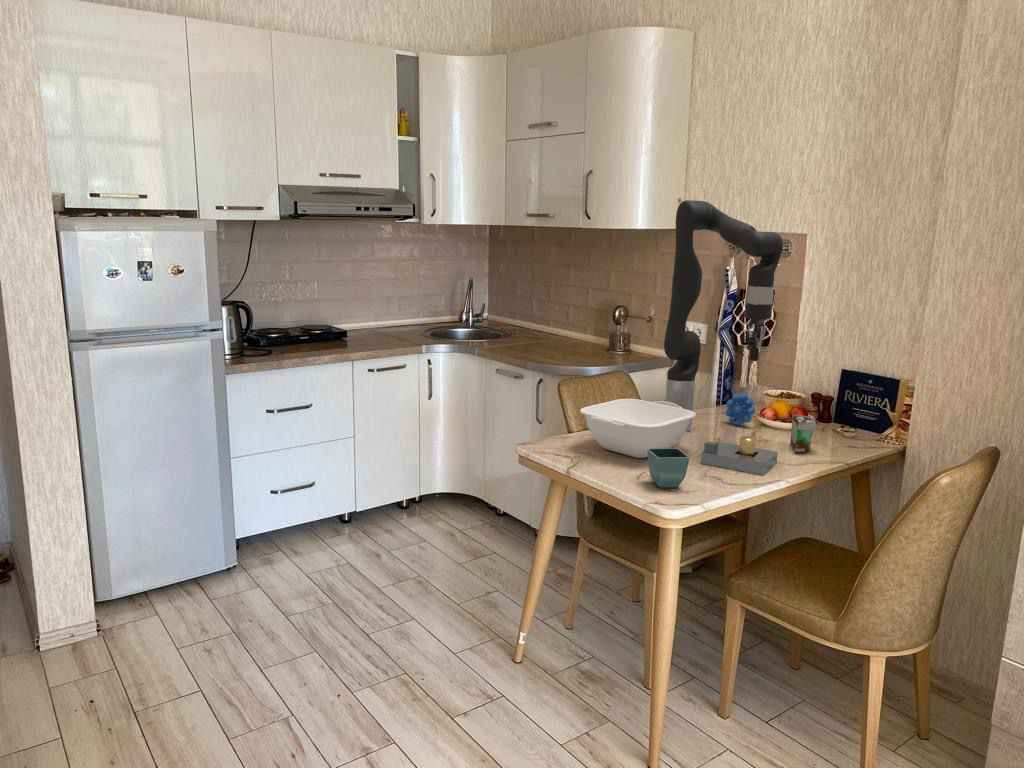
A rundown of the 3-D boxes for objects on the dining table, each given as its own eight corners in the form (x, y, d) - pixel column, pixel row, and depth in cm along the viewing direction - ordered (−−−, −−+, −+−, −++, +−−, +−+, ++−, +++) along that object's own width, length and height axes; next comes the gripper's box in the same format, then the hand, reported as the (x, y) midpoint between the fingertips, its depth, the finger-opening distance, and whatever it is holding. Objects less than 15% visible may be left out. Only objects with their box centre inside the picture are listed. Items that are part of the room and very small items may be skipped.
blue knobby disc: (760, 427, 268) (763, 393, 265) (749, 430, 264) (752, 396, 261) (732, 420, 277) (734, 387, 274) (720, 423, 272) (723, 389, 270)
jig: (700, 463, 226) (702, 443, 225) (716, 452, 238) (718, 433, 236) (763, 475, 216) (765, 454, 215) (776, 463, 228) (778, 443, 227)
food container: (816, 456, 236) (820, 424, 234) (795, 455, 237) (798, 423, 235) (809, 445, 247) (813, 415, 245) (789, 444, 249) (792, 413, 247)
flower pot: (675, 479, 212) (678, 447, 210) (688, 490, 203) (690, 457, 201) (644, 480, 210) (646, 448, 209) (655, 491, 202) (657, 458, 200)
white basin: (631, 431, 260) (633, 394, 257) (706, 450, 240) (709, 410, 238) (563, 450, 236) (565, 410, 233) (640, 473, 216) (643, 429, 214)
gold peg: (736, 465, 225) (738, 438, 224) (740, 461, 229) (742, 435, 227) (751, 468, 223) (753, 441, 221) (755, 464, 227) (757, 437, 225)
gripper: (752, 299, 234) (747, 356, 237) (739, 302, 223) (734, 362, 226) (778, 301, 230) (772, 359, 233) (765, 304, 219) (760, 365, 222)
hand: (754, 360), depth 230 cm, fingers closed
